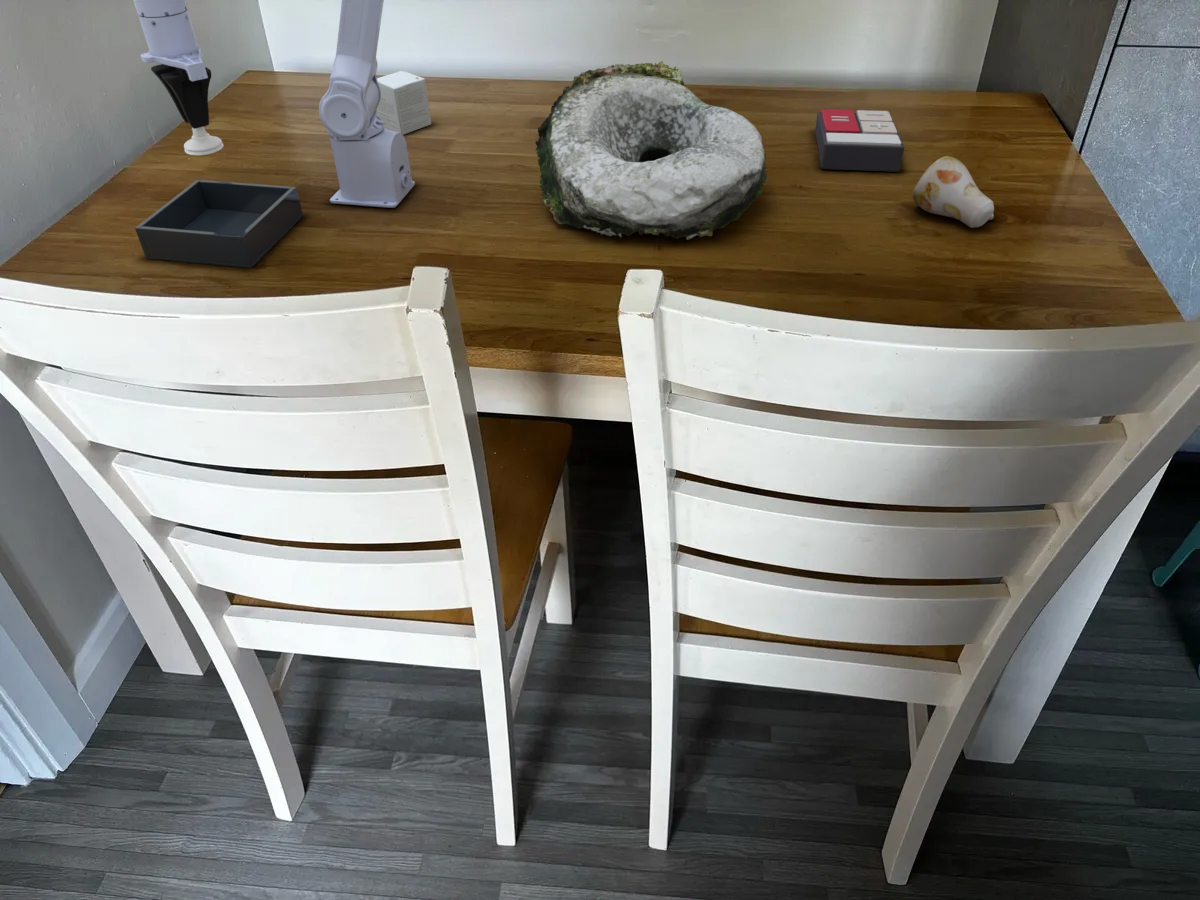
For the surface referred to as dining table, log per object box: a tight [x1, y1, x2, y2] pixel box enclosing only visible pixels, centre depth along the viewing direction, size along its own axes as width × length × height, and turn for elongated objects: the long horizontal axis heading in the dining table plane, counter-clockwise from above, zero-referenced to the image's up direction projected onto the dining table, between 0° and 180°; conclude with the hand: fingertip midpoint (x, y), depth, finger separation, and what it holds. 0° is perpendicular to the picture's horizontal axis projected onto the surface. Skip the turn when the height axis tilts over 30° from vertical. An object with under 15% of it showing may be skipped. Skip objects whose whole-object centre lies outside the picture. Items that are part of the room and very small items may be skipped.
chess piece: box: [183, 126, 224, 156], centre depth 117 cm, size 5×5×10 cm
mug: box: [912, 155, 995, 229], centre depth 115 cm, size 8×10×10 cm
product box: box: [375, 70, 432, 136], centre depth 142 cm, size 6×6×7 cm
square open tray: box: [134, 179, 304, 269], centre depth 114 cm, size 14×14×4 cm
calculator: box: [814, 108, 905, 173], centre depth 133 cm, size 11×4×15 cm
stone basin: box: [534, 60, 770, 241], centre depth 118 cm, size 29×30×15 cm
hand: (196, 123), depth 118 cm, fingers closed on chess piece
